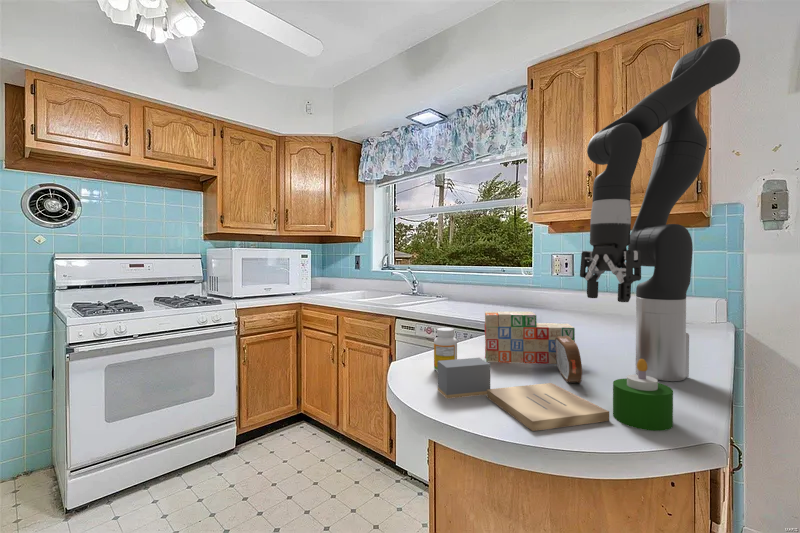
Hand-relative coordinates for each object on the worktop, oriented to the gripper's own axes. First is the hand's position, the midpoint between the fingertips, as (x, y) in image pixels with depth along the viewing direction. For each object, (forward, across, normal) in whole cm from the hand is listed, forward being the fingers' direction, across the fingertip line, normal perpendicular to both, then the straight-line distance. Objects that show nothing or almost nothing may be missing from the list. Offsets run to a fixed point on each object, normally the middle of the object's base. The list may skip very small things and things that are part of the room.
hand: (607, 299), depth 83 cm
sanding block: (+19, +2, +31) cm, 36 cm away
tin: (+18, +5, +5) cm, 19 cm away
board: (+18, -9, +21) cm, 29 cm away
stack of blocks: (+18, +20, +6) cm, 27 cm away
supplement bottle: (+19, +17, +29) cm, 39 cm away
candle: (+18, -18, +9) cm, 27 cm away
